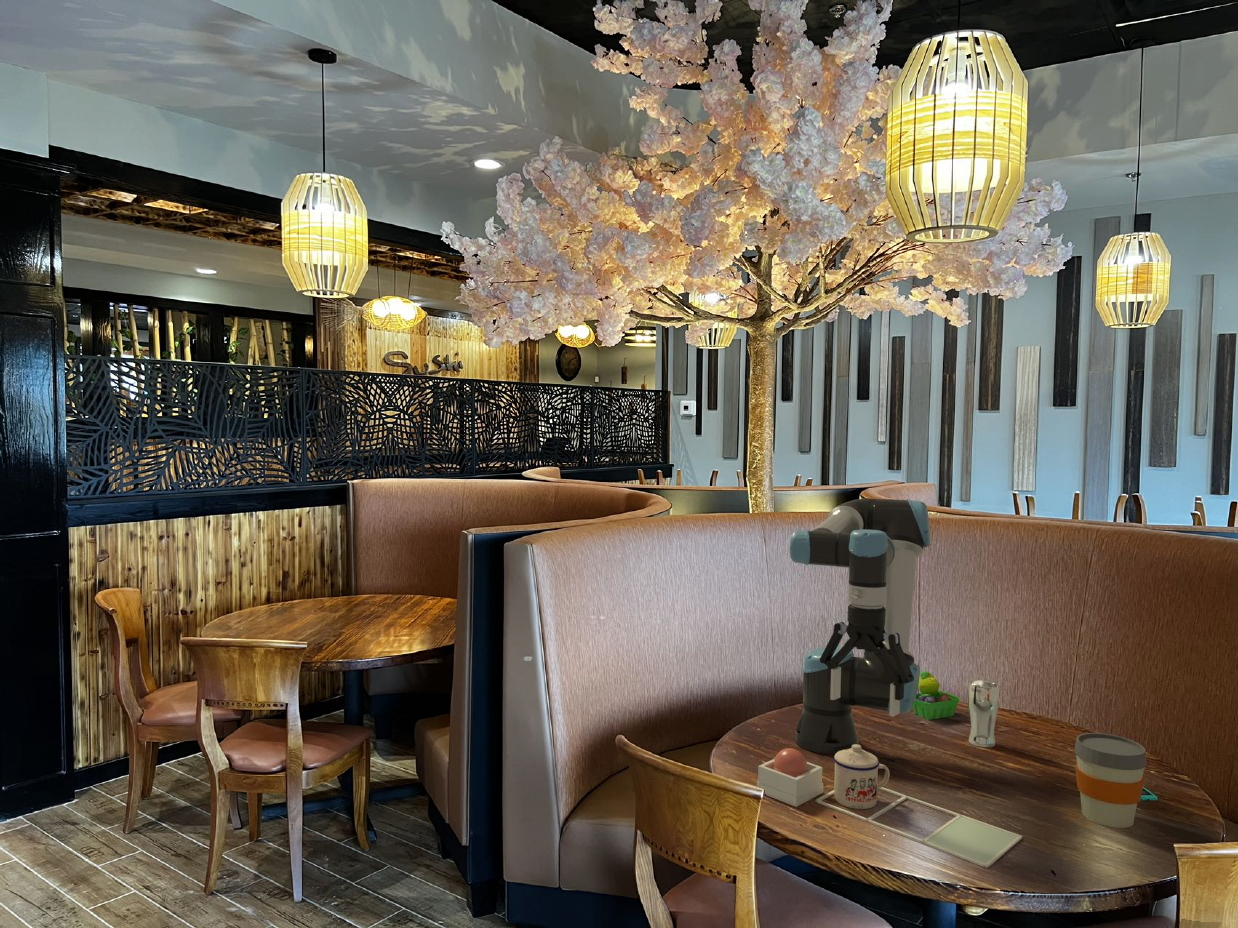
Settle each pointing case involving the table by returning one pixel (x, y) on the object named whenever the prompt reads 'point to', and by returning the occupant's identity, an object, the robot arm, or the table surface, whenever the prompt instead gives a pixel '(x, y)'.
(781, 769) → the red ball
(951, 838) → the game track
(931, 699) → the fruit basket
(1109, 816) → the reusable coffee cup
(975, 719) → the beer glass
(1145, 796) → the handheld game console
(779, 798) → the grey square box
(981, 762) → the table surface
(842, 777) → the teacup with lid
